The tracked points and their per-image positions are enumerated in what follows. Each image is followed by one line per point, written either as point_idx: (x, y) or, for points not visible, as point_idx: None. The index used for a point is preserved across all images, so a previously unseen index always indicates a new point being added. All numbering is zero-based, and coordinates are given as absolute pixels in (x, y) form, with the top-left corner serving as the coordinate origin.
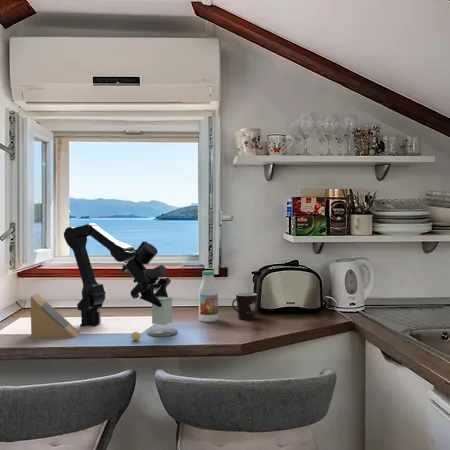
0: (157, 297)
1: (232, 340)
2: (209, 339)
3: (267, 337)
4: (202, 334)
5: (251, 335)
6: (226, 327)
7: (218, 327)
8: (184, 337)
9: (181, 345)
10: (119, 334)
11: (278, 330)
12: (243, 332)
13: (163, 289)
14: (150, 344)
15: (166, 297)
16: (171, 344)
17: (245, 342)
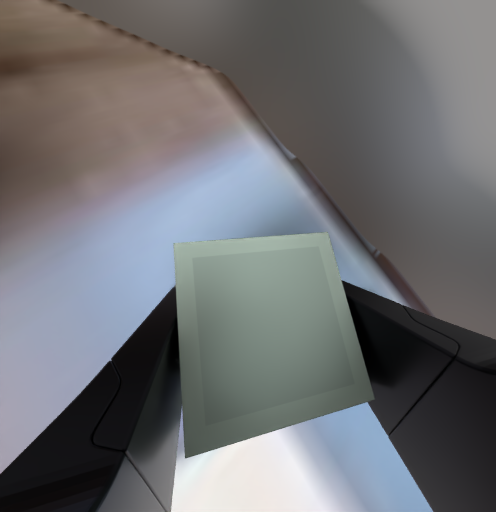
0: (279, 405)
1: (189, 93)
2: (213, 143)
3: (113, 33)
4: (169, 184)
5: (109, 66)
6: (16, 158)
7: (28, 183)
8: (234, 213)
9: (304, 176)
10: (344, 464)
11: (3, 17)
12: (79, 91)
13: (106, 498)
14: (350, 251)
15: (211, 299)
16: (313, 203)
17: (190, 65)
